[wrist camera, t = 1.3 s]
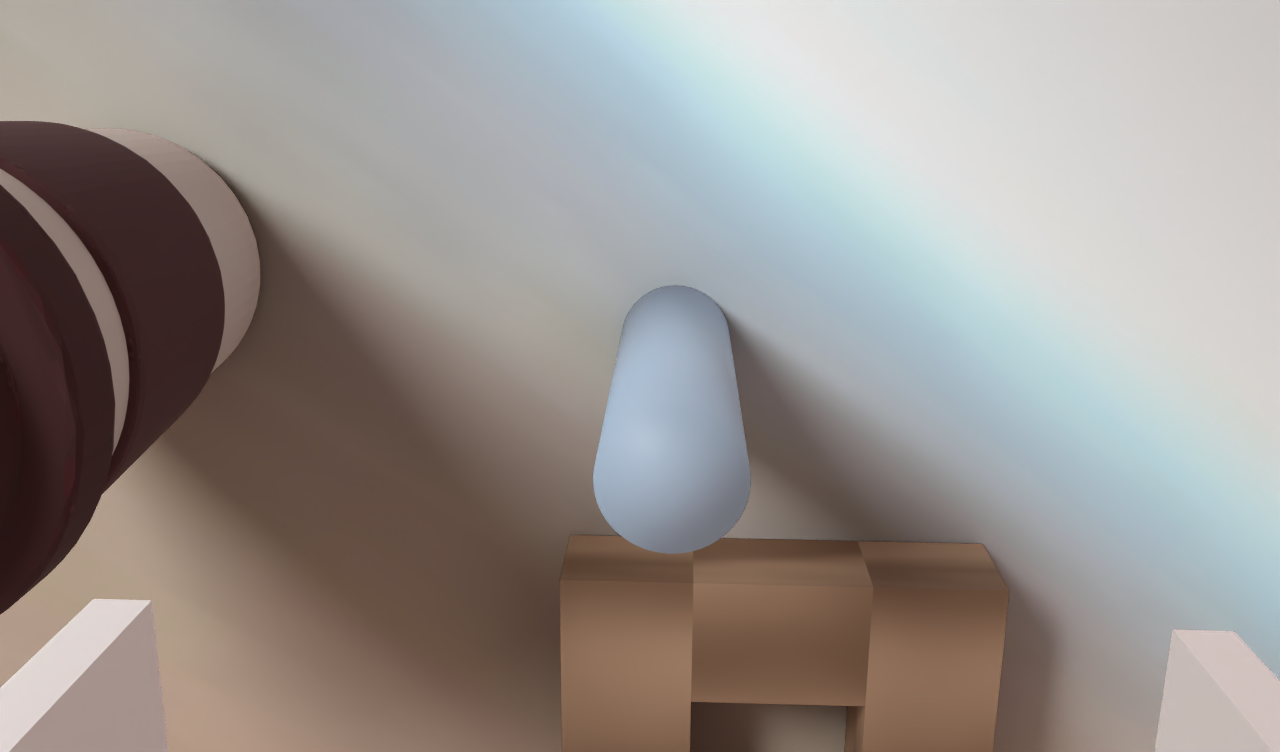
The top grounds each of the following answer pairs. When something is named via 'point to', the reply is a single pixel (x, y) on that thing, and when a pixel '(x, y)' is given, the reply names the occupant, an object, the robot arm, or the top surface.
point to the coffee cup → (103, 319)
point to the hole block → (781, 639)
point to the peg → (673, 427)
